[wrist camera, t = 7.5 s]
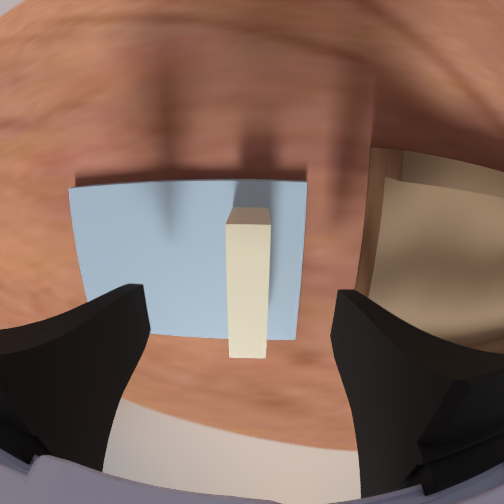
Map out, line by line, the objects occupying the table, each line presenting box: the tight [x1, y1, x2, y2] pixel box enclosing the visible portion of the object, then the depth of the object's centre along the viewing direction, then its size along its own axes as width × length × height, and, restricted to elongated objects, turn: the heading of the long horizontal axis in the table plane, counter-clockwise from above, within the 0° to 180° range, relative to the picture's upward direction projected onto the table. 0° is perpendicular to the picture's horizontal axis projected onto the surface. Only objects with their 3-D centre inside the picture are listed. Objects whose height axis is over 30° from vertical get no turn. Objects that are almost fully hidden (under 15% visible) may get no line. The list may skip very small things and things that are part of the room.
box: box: [355, 147, 504, 354], centre depth 13 cm, size 12×14×4 cm
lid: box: [68, 179, 307, 358], centre depth 14 cm, size 8×12×4 cm
